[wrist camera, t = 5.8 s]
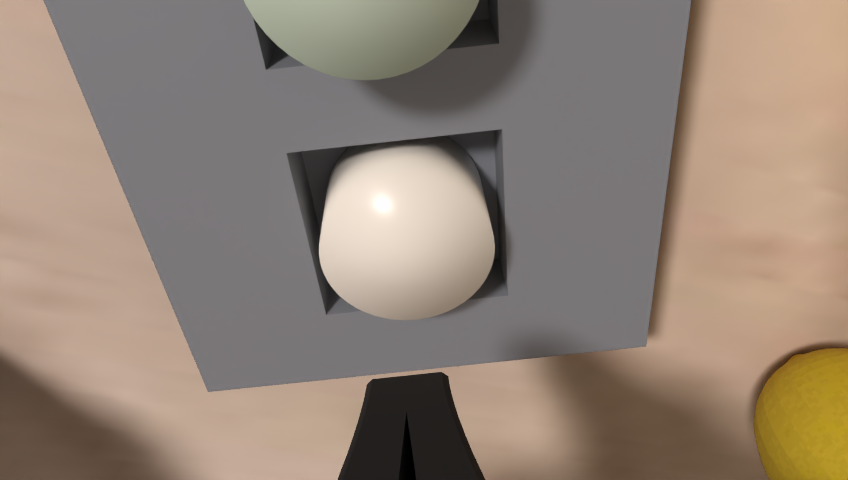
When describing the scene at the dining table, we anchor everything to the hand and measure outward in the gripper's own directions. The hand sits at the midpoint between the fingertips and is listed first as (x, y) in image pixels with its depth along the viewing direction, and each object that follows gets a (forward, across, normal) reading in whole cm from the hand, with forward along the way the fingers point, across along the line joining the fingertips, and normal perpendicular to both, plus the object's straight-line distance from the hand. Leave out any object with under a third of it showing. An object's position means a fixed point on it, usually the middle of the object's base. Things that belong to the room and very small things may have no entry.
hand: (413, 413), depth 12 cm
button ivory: (+7, 0, 0) cm, 7 cm away
